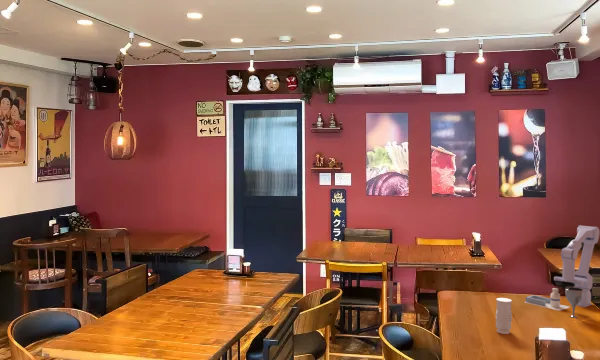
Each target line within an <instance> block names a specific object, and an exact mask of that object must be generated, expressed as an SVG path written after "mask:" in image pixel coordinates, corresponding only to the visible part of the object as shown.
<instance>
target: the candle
mask: <svg viewBox="0 0 600 360" xmlns="http://www.w3.org/2000/svg"><path fill="white" fill-rule="evenodd" d="M512 302H513V300H512V299H510V298H507V297H497V298H496V310H495V327H496V328H497V329H496V332H497V333H498V334H503V335H508V334H509V335H510V333H511V332H510V330H511V329H512V321H513V317H512V316H513V312H512Z"/></svg>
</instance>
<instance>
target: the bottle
mask: <svg viewBox="0 0 600 360" xmlns="http://www.w3.org/2000/svg"><path fill="white" fill-rule="evenodd" d="M551 289H552V292H551V293H550V297H549V298H550V306H551V307H555V308H559V307H560V305H561V294H560V293H559V288H557V287H556V288H554V287H553V288H551Z"/></svg>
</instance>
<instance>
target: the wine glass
mask: <svg viewBox="0 0 600 360" xmlns="http://www.w3.org/2000/svg"><path fill="white" fill-rule="evenodd" d="M565 294H566V295H565ZM564 295H565V298H566V300H567V301H568V303H569V304H570V305H571V309H572V315H570V316H568V317H569V318H572V319H578V316H576V315H575V311H576V307H577V304H578V303H579V302H580V301H581V300H582V297H583V289H581V288H577V287H566V288H565V291H564Z"/></svg>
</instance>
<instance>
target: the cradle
mask: <svg viewBox="0 0 600 360" xmlns="http://www.w3.org/2000/svg"><path fill="white" fill-rule="evenodd" d="M550 298H551V297H544V296H540V295H534V294H532V295H530V296H525V301H524V303H525V304H530V305H534V306H538V307H542V308H545V309H550V310H551V309H552V310H554V311H559V312H560V311H563V310H566V309H569V308H570V306H569V305H565V304H564V305H563V304H560V307H559V308H555V307H551V306H550Z"/></svg>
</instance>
